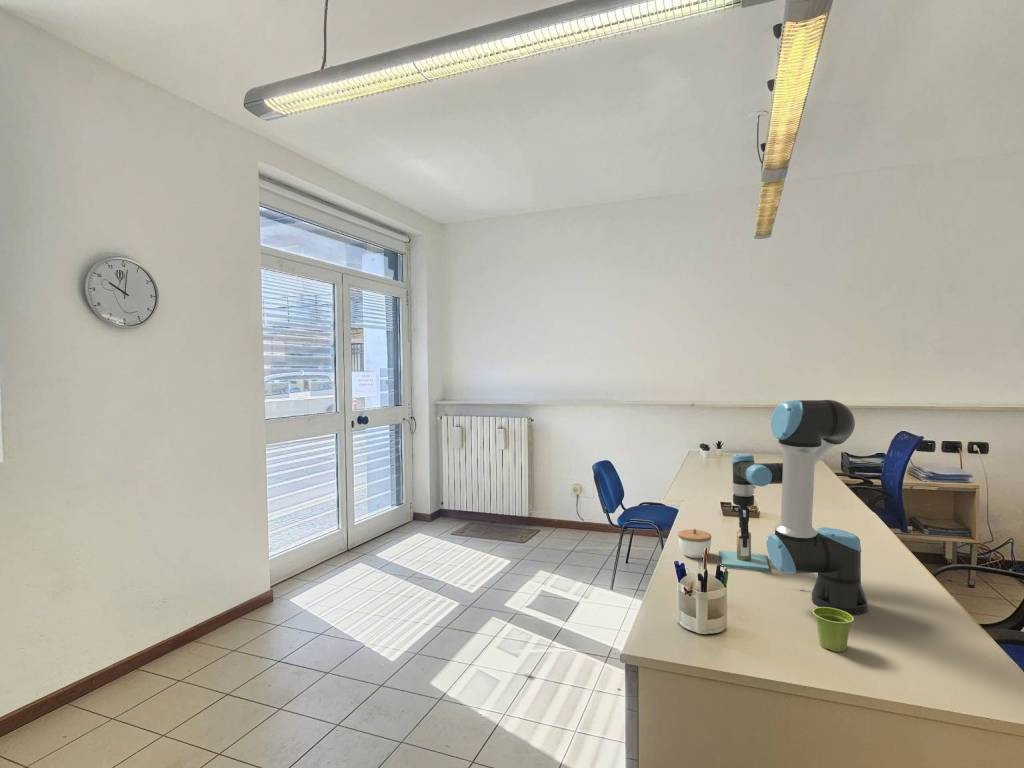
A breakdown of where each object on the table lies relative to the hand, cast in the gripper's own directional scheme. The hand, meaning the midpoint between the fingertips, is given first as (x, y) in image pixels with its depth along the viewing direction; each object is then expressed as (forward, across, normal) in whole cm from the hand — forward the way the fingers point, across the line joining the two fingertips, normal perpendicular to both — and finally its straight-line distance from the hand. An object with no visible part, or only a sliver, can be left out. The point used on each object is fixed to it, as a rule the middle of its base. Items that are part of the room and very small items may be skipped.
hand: (743, 550), depth 208 cm
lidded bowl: (+5, +2, +18) cm, 19 cm away
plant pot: (+5, -61, -19) cm, 64 cm away
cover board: (+4, 0, 0) cm, 4 cm away
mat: (+5, 0, 0) cm, 5 cm away
